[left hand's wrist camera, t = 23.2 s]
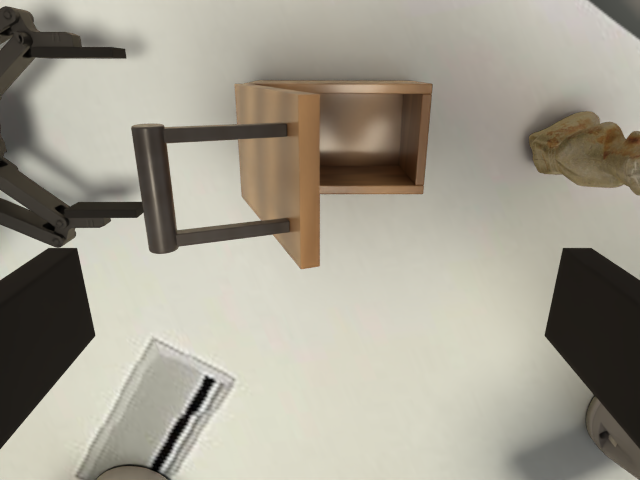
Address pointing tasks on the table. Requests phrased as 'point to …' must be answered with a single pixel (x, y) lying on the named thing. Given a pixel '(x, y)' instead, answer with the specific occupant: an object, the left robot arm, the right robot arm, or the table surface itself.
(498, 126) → the table surface
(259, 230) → the lid
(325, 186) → the chest
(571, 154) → the sculpture
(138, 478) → the bust sculpture
